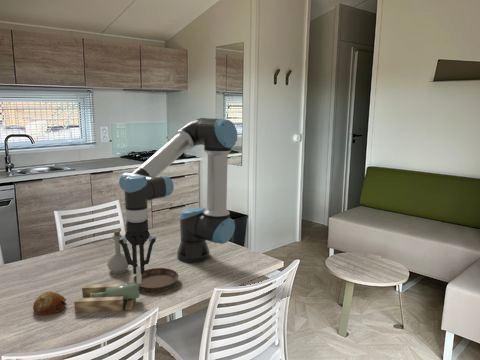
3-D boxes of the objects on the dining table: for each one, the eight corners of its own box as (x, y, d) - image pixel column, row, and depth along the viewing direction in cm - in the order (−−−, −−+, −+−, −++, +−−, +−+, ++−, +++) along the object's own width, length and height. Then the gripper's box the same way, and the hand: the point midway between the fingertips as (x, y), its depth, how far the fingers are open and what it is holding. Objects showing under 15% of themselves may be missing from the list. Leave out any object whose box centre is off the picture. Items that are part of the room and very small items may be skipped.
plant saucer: (157, 298, 152) (157, 291, 151) (124, 286, 161) (123, 279, 161) (187, 281, 167) (187, 274, 166) (155, 271, 176) (155, 264, 175)
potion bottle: (123, 275, 171) (121, 234, 167) (104, 273, 172) (101, 232, 169) (133, 267, 179) (131, 228, 175) (114, 265, 181) (112, 226, 177)
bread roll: (47, 311, 149) (35, 293, 147) (72, 299, 149) (61, 281, 147) (36, 326, 139) (23, 306, 137) (63, 313, 139) (51, 294, 137)
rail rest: (136, 292, 156) (135, 282, 155) (131, 309, 143) (130, 299, 142) (84, 294, 154) (83, 284, 153) (75, 312, 141) (74, 301, 140)
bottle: (138, 281, 150) (91, 287, 148) (136, 288, 146) (88, 294, 144) (139, 293, 152) (93, 299, 150) (138, 300, 147) (90, 306, 145)
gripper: (156, 216, 148) (158, 276, 153) (119, 216, 147) (122, 278, 151) (154, 222, 141) (156, 285, 145) (116, 223, 139) (119, 287, 144)
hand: (139, 281), depth 148 cm, fingers closed
